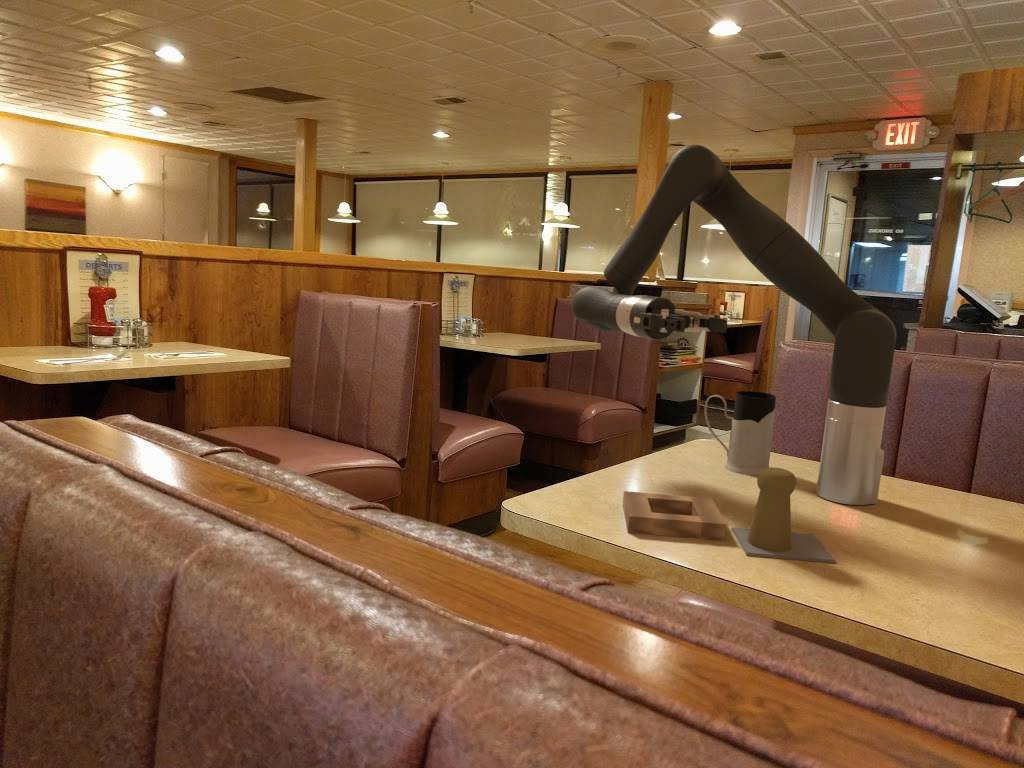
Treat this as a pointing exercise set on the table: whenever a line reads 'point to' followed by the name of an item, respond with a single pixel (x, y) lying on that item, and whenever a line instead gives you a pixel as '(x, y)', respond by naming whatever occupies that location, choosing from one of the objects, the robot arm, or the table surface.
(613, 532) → the table surface
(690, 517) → the socket block
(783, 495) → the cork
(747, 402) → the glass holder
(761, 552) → the rubber mat
